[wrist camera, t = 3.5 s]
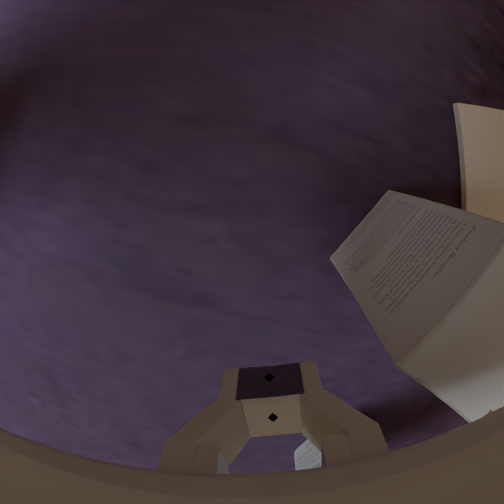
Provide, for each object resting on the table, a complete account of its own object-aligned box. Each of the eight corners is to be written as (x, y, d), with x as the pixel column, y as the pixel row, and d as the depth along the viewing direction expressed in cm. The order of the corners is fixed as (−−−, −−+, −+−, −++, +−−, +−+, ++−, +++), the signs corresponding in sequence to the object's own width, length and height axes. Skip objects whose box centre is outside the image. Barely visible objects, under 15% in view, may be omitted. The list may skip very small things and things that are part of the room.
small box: (455, 267, 17) (559, 343, 7) (403, 327, 19) (478, 434, 8) (387, 185, 16) (519, 221, 6) (325, 256, 17) (396, 370, 7)
